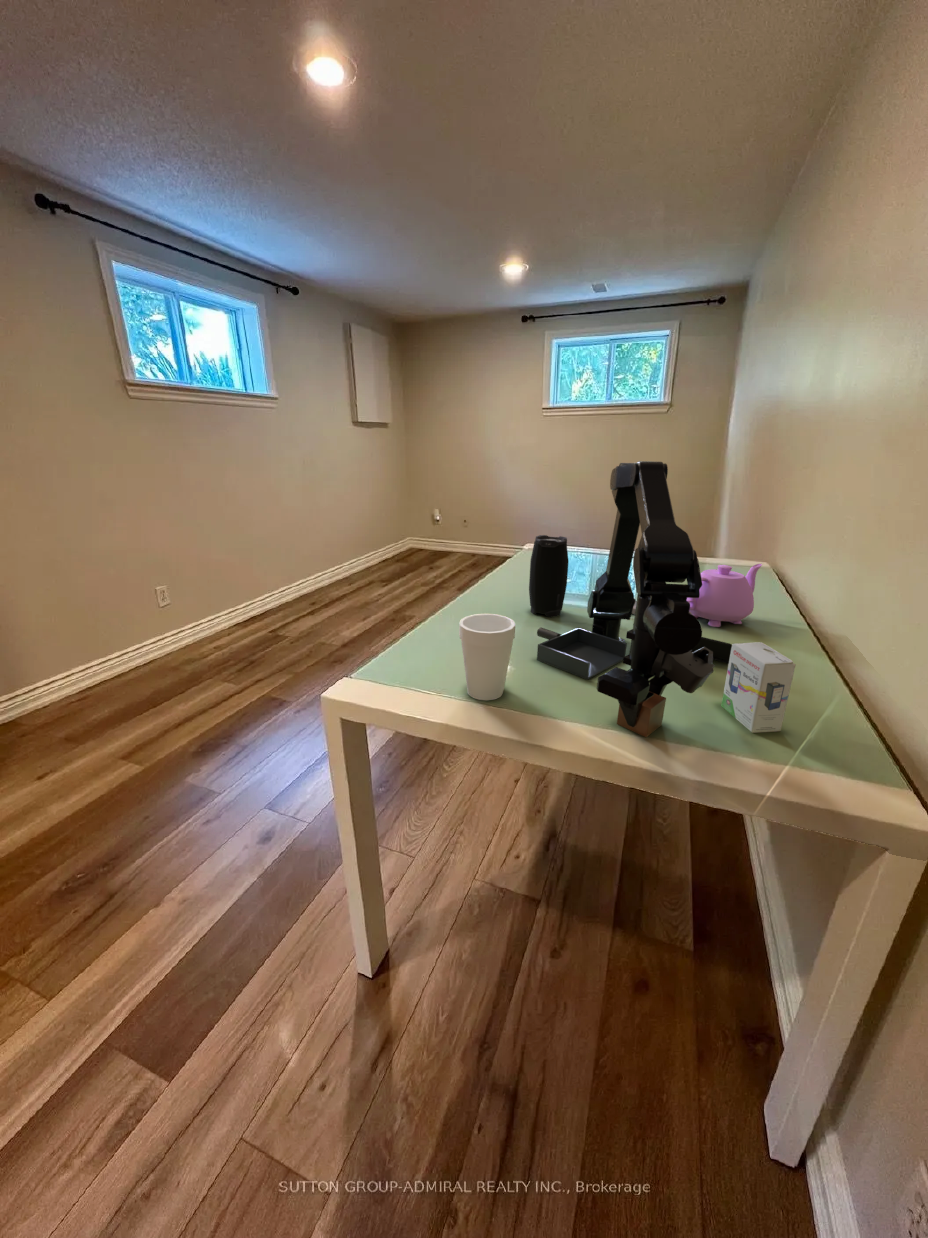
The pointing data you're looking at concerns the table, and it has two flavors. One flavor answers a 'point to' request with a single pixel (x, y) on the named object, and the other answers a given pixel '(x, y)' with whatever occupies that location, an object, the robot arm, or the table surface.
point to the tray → (580, 651)
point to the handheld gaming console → (715, 649)
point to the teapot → (725, 595)
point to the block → (646, 716)
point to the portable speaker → (548, 575)
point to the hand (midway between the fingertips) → (639, 719)
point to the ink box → (757, 686)
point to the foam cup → (486, 653)
